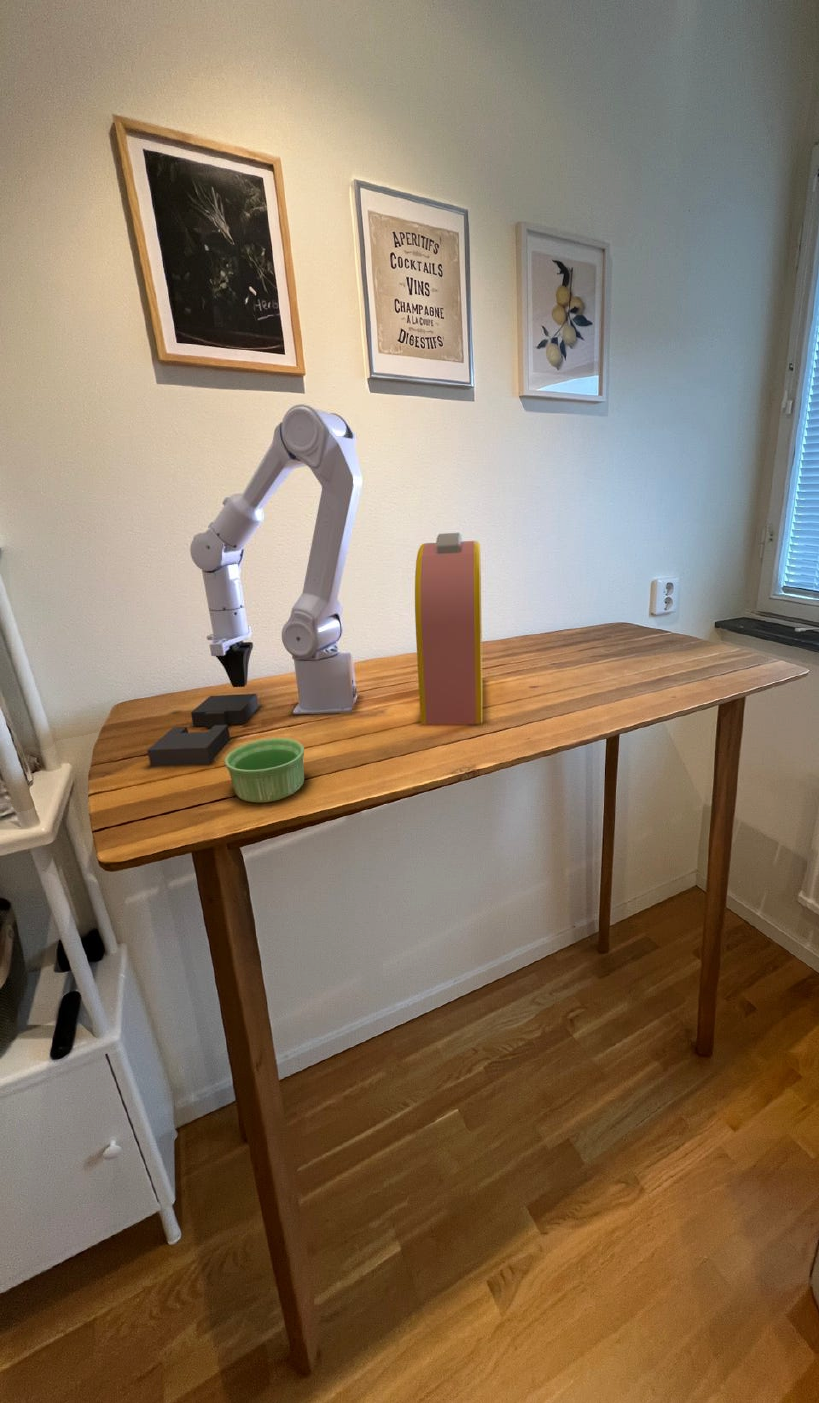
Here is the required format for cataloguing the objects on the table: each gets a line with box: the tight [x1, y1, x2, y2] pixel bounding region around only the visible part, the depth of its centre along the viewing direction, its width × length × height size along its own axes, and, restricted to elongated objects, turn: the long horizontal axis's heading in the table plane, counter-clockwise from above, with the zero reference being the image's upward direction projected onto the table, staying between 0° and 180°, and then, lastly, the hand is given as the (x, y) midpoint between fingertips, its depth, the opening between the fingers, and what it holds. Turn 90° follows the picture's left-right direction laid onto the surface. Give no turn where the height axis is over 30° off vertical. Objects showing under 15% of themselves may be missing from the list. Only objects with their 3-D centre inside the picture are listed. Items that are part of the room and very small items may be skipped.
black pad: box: [190, 693, 259, 729], centre depth 88 cm, size 8×9×2 cm
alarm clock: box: [414, 532, 483, 725], centre depth 86 cm, size 21×9×26 cm, turn 173°
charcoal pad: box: [146, 725, 231, 767], centre depth 76 cm, size 8×8×2 cm
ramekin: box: [224, 737, 305, 803], centre depth 64 cm, size 9×9×4 cm
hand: (239, 685), depth 95 cm, fingers closed
